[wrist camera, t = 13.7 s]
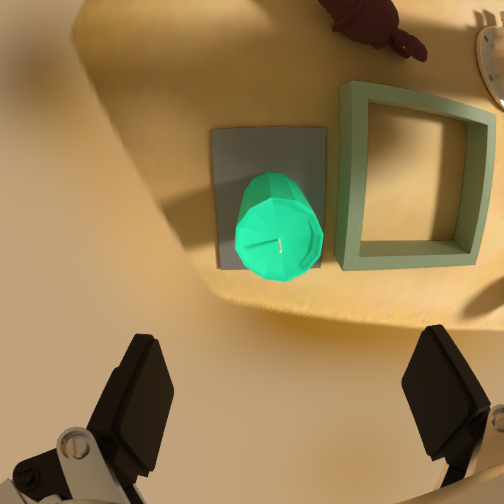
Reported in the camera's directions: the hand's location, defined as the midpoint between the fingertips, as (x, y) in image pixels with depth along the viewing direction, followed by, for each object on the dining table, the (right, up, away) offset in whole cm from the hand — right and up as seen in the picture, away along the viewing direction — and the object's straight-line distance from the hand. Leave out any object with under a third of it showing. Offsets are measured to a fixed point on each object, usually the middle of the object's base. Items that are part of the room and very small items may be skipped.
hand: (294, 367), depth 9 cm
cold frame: (+16, +12, +18) cm, 27 cm away
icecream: (+8, +27, +11) cm, 31 cm away
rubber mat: (0, +9, +20) cm, 22 cm away
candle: (+1, +9, +20) cm, 22 cm away
